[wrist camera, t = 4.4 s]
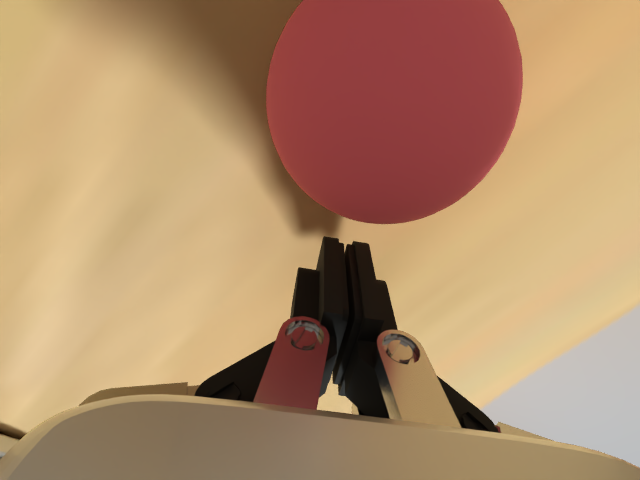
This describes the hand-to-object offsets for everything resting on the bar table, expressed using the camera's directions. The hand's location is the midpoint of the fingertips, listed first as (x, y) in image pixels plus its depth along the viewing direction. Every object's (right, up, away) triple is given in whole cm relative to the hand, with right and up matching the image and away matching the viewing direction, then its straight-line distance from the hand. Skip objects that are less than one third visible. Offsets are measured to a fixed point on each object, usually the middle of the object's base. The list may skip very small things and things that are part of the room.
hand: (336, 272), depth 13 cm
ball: (+1, +5, -4) cm, 6 cm away
